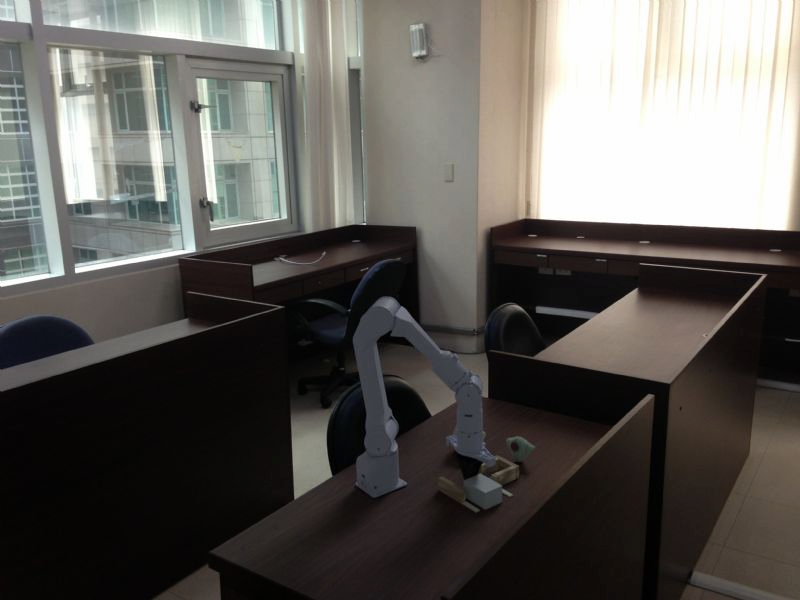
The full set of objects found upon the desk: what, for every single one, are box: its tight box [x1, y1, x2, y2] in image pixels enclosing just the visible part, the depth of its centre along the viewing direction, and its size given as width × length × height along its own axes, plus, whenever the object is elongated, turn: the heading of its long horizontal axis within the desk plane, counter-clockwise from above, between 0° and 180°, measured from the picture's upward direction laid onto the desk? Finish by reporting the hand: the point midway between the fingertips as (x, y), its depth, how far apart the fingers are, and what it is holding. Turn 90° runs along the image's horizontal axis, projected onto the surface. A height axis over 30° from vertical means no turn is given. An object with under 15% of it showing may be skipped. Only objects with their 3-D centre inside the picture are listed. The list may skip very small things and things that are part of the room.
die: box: [451, 424, 487, 442], centre depth 173 cm, size 8×9×10 cm
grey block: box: [463, 474, 503, 511], centre depth 151 cm, size 5×7×4 cm
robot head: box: [506, 435, 537, 463], centre depth 167 cm, size 8×4×7 cm, turn 46°
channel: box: [437, 454, 520, 505], centre depth 157 cm, size 18×8×3 cm, turn 126°
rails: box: [461, 488, 514, 513], centre depth 151 cm, size 11×4×1 cm, turn 126°
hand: (470, 484), depth 155 cm, fingers closed
